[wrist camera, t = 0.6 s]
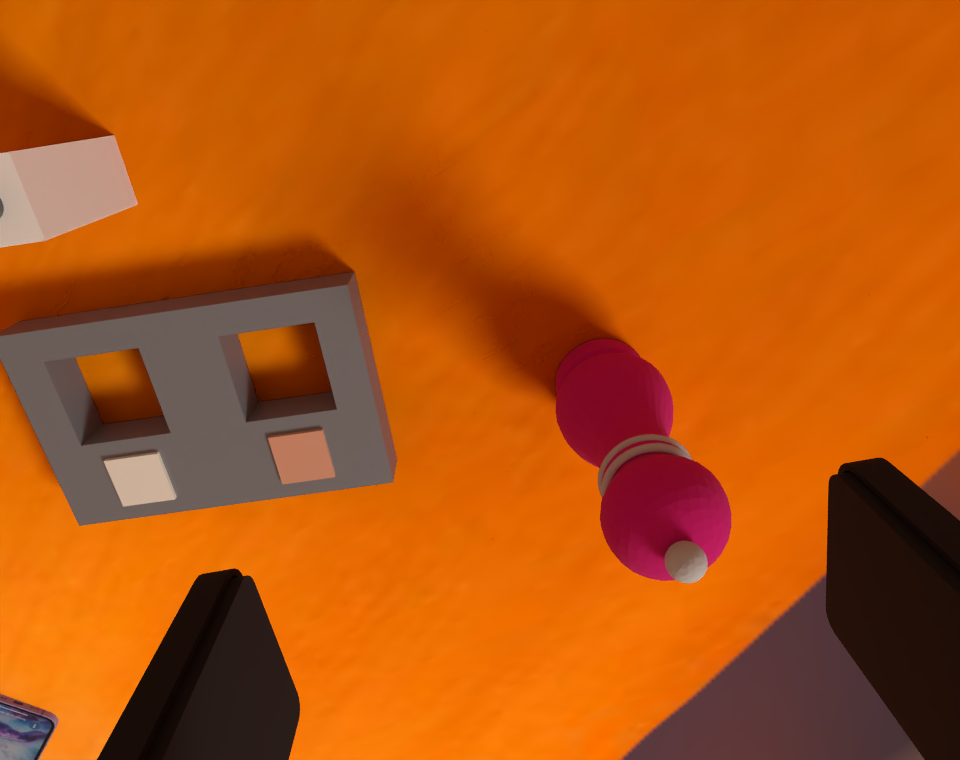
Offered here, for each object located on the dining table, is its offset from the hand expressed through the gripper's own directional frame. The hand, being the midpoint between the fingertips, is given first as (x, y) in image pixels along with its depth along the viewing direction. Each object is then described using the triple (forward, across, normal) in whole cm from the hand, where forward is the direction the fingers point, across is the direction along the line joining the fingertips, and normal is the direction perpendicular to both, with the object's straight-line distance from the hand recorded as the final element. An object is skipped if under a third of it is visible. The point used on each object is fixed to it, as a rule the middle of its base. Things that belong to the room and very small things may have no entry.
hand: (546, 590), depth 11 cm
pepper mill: (+34, -6, +12) cm, 37 cm away
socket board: (+34, +20, +8) cm, 40 cm away
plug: (+34, +22, -7) cm, 41 cm away
